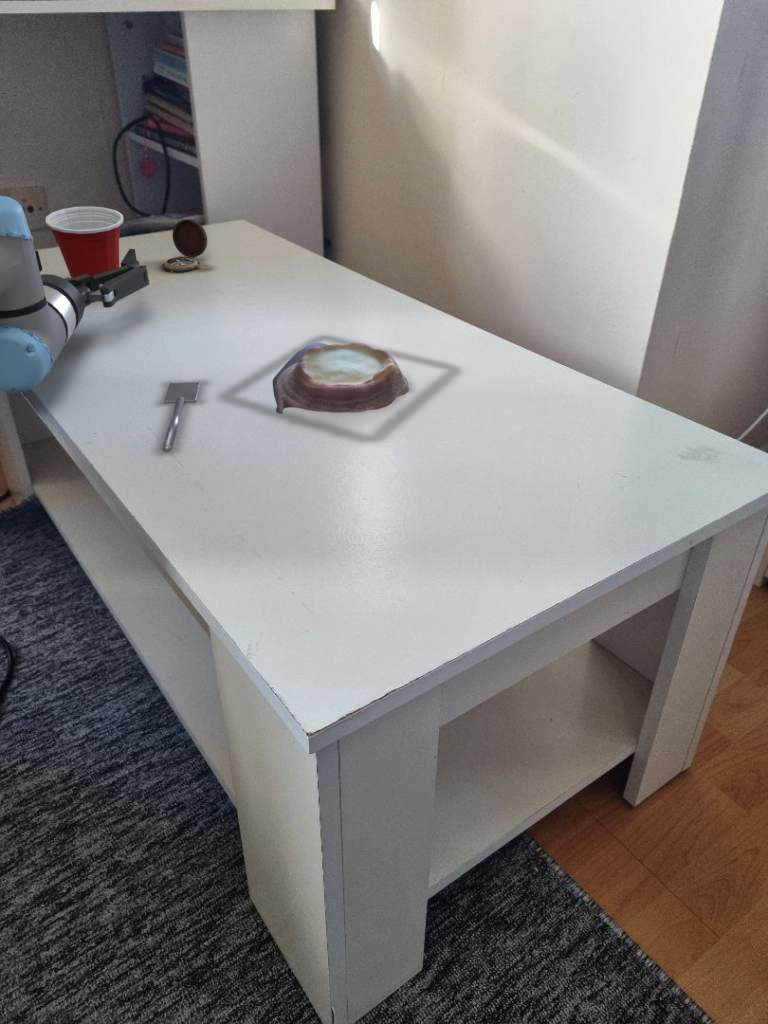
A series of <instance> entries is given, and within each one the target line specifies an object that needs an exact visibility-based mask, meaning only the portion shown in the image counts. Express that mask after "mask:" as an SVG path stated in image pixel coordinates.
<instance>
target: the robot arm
mask: <svg viewBox="0 0 768 1024" xmlns="http://www.w3.org/2000/svg"><path fill="white" fill-rule="evenodd" d="M147 267H148V266H147V265H144V264H141V265H140V261H139V260H138V259H137V253H136V249H135V248H128V250H127V252H126V254H125V256H123V259H122V260H121V262H120V266H119V268H116V269H113V270H109V271H106V272H103V273H100V274H97V275H94V276H90V275H87V274H84V275H81V276H78V277H75V278H71V277H65V278H63V277H61V276H59V275H55V274H50V273H49V274H48V273H47V274H45V273H44V274H41V272H42V271H43V265H42V261H41V258H40V254H39V250H35V245H34V236H32V233H31V229H30V226H29V222H28V218H27V217H26V215H25V212H24V208H23V207H22V204H20V203H19V201H17V200H15V199H14V198H12V197H9V196H6V195H0V391H3V392H7V393H15V394H18V393H25V392H28V391H30V390H32V389H34V388H36V387H37V386H38V385H39V384H40V383H41V382H42V381H43V379H44V378H45V377H47V376H48V375H49V374H50V373H51V371H52V370H53V366H54V364H55V362H56V361H57V359H58V358H59V356H60V354H61V352H62V351H63V349H64V347H65V346H66V344H67V343H68V341H69V339H70V338H71V336H72V335H73V333H74V332H75V331H76V329H77V327H78V326H79V325H80V322H81V321H82V319H83V316H84V313H85V309H86V307H88V306H90V305H91V304H93V303H96V302H101V303H102V306H103V308H106V309H107V308H108V309H109V308H112V307H114V305H116V303H117V302H119V301H121V300H123V299H125V298H127V297H128V296H130V295H132V294H134V293H136V292H138V291H140V290H141V289H143V288H146V287H148V286H149V285H150V279H149V274H148V268H147ZM83 282H85V285H83V284H81V283H83Z"/></svg>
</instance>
